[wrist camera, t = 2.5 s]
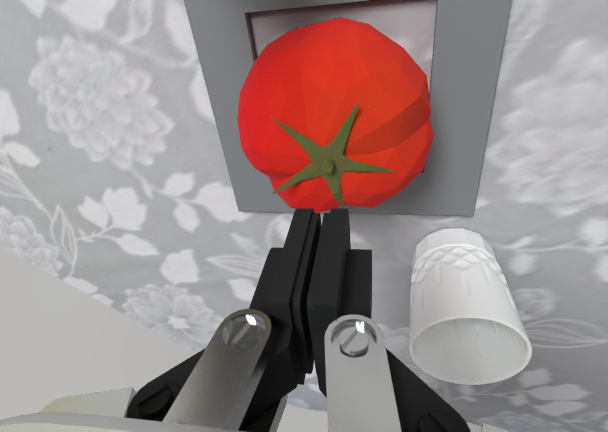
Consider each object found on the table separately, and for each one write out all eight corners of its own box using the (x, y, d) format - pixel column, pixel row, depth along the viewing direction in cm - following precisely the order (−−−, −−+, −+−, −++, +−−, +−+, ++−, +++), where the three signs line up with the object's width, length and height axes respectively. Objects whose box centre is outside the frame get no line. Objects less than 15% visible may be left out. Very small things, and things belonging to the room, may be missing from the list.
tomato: (245, 130, 31) (192, 203, 23) (291, -27, 24) (237, -3, 16) (381, 188, 32) (376, 277, 23) (464, 52, 24) (497, 114, 16)
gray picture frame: (527, -107, 20) (530, -107, 19) (471, 211, 31) (472, 215, 31) (174, -54, 24) (169, -54, 23) (241, 207, 36) (239, 211, 35)
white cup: (519, 261, 33) (556, 364, 25) (442, 298, 38) (454, 395, 30) (462, 205, 31) (485, 299, 23) (388, 251, 35) (386, 343, 28)
